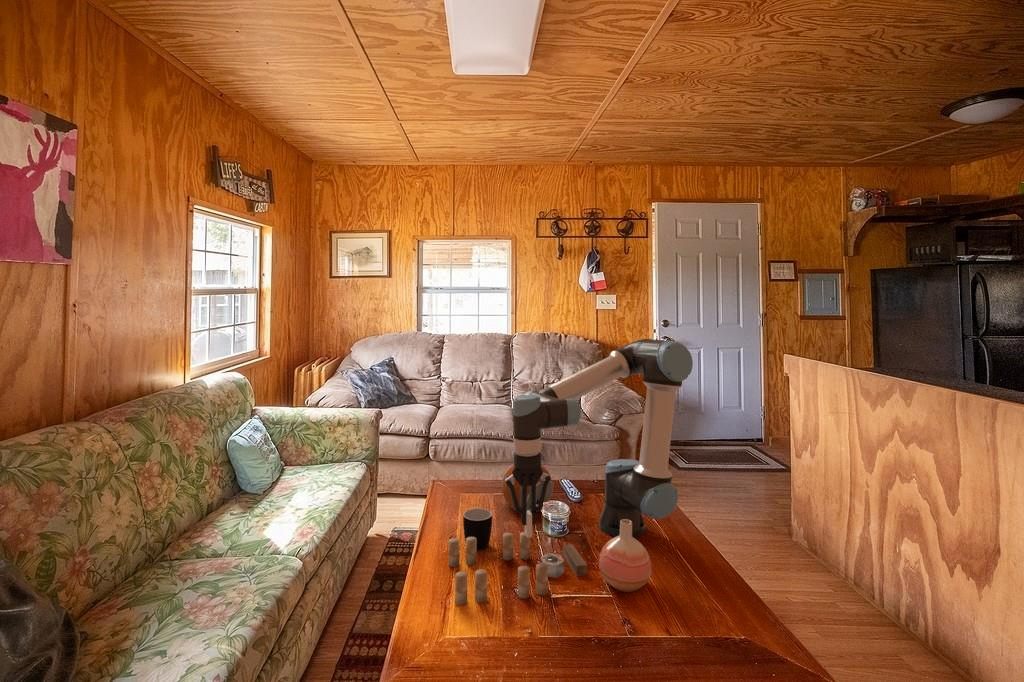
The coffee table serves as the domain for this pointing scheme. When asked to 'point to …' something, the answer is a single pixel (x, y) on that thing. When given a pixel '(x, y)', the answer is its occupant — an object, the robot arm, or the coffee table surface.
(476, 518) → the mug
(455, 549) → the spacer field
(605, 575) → the vase
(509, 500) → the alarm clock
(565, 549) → the rail
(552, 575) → the nut
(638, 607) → the coffee table surface
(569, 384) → the robot arm
